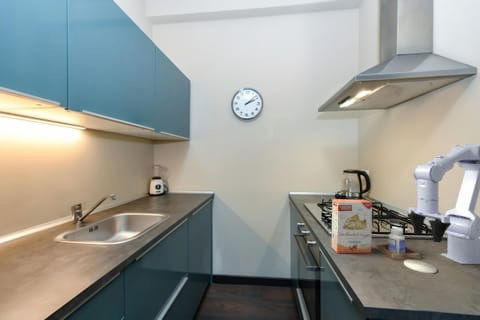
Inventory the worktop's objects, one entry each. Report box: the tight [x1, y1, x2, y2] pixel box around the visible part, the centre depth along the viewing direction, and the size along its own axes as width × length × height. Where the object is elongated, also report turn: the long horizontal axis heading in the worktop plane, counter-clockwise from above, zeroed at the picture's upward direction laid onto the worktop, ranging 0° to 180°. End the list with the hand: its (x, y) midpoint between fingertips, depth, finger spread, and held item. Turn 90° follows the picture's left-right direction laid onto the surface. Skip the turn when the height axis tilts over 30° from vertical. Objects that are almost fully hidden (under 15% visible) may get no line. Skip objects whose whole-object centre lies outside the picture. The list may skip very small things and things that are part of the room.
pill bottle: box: [388, 227, 406, 254], centre depth 89 cm, size 5×5×10 cm
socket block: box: [374, 243, 422, 261], centre depth 89 cm, size 11×11×2 cm
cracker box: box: [331, 198, 373, 254], centre depth 92 cm, size 14×6×21 cm, turn 91°
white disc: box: [403, 259, 438, 274], centre depth 78 cm, size 9×9×1 cm
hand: (427, 237), depth 78 cm, fingers open, 7 cm apart
